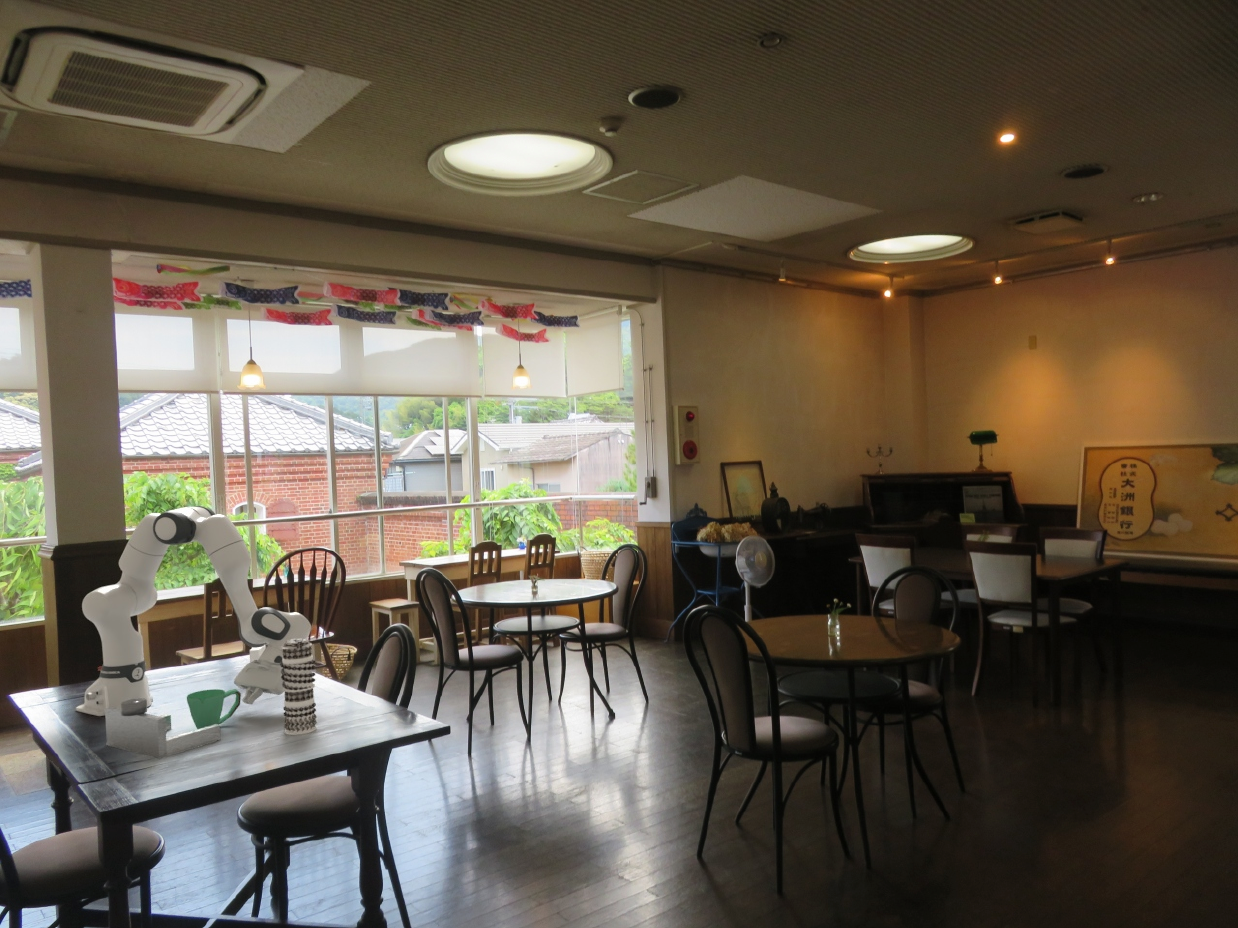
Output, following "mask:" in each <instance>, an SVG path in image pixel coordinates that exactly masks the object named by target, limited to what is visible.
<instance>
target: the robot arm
mask: <svg viewBox="0 0 1238 928" xmlns="http://www.w3.org/2000/svg"><path fill="white" fill-rule="evenodd" d="M193 542H197V543H199V544H200V545H201V546H202V547H203V550H204V551H205V553H206V555H207V557H208V559H209V561H210V564H211V565H212V567H213V569H214V570H215V573H216V574H217V575H218V578H219V580H220V582H221V584H222V586H223V588H224V589H225V592H226V595H227V597H228V600H229V602H230V604H231V606H232V609H233V611H234V613H235V615H236V617H237V624H238V636H239V638H240V640H241V642H242V643H243V644H245V646H247V647H250V648H258V647H262V646H264V645H266V649H265V650H264V652H263V653H262V655H261V656H260V658H259V659H258V660H254V661H253V662H250V661H249V663H247V664H246V665H244V666H245V667H243V668H242V669H241V670H240V671H239V672H238V674H237V675H236V676H235V678H234V680H233V684H234V685H235V686H236V687H238V688H239V689H241V690H245V694H244V695H245V696H244V697H243V698H242V699H241V700H242V703H244V704H246V705H247V704H248V705H253V704H254V703H255V701H257V700H258V699H259V698H260V697H261V696H262V695H263V694H264V693H265V694H272V695H277V696H280V695H282V694H283V693H285V691H283V686H282V683H283V681H284V680H282V678H281V676H282V673H281V669H282V668H283V667H281V665H280V663H281V661H282V658H283V648H281V647H282V646H284V644H285V643H286V641H288V640H291V639H299V638H303V639H307V640H308V637H309V636H310V634H311V631H312V625H311V622H310V621H309V619H308V618H307V617H306V616H305V615H304V614H301V613H299V612H297V611H296V612H295V611H293V612H285V611H281V610H278V609H275V608H273V607H268V606H267V607H266V606H265V607H262V608H261V607H260V608H258V607H257V605H256V602H255V600H254V598H253V595H252V593H251V591H250V588H249V584H248V576H249V571H250V567H251V564H252V559H251V556H250V555H251V554H250V551H249V549H248V547H247V544H246V543H245V540H244V538H243V537H242V534H241V533H240V532H239V530H238V528H237V527H236V526H235V524H234V523H233V522H232V520H231V519H230V518H229V517H228V516H226V515H224V514H216V513H215V512H214V511H213V510H212V509H211V508H209V507H206V506H201V505H195V506H183V507H179V508H175V509H169V510H166V511H164V512H161V513H159V512H158V513H157V512H151V513H148V514H146V515H145V516H143V518H142V519H141V520H140V521H139V523H138V525H137V526H136V527H135V529H134V530H133V532H132V534H131V535H130V538H129V539H128V542H127V543H126V545H125V547H124V550H123V552H122V554H121V556H120V558H119V560H118V566H119V567H118V568H120V571H122V573H121V576H120V579H119V581H118V582H117V583H115V584H109V585H105V586H101V587H98V588H96V589H94V590H92V591H90V592H89V593H87V594H86V595H85V597H84V598H83V599H82V603H81V608H82V609H81V610H82V614H83V615H84V617H85V618H86V619H87V620H89V621H90V622H91V623H93V625H94V626H95V628H96V629H97V631H98V634H99V636H100V640H101V647H102V648H101V649H102V661H103V664H102V666H99V667H98V666H97V669H98V670H97V671H100V672H99V677H98V678H97V679H96V680H95V681H94V682H93V683H92V684H91V685H89V687H88V688H86V690H85V692H84V703H82V704H79V705H78V706H76V707H75V711H76V712H80V713H84V714H88V715H91V716H92V715H93V716H97V717H101V716H103V717H104V716H105V708H109V707H117V708H121V703H122V702H124V701H127V700H131V699H139V698H144V699H147V708H148V707H150V706H152V702H153V701H154V697H153V696H151V693H150V691H151V690H150V683H149V679H148V676H147V674H146V671H147V668H146V667H147V663H146V659H144V657H145V656H144V640H143V639H144V637H143V635H142V634H141V633H140V632H139V631H137V630H136V629H135V627H134V625H133V622H132V619H131V617H134V616H138V615H141V614H143V613H145V612H147V611H149V610H150V609H152V608H153V607H154V606H155V605H156V603H157V601H158V591H157V588H156V587H155V579H156V575H157V572H158V570H159V568H160V566H161V564H162V562H163V559H164V557H165V555H166V553H167V551H168V549H169V547H170V546H178V545H184V544H185V545H186V544H190V543H193ZM283 665H284V664H283Z"/></svg>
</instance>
